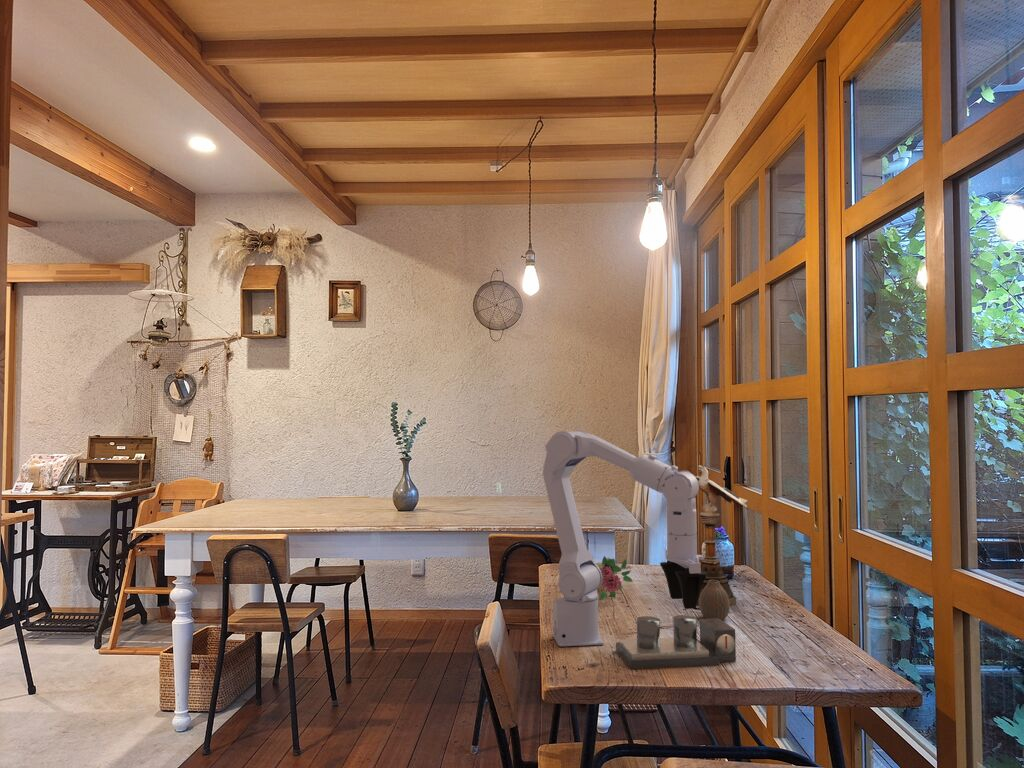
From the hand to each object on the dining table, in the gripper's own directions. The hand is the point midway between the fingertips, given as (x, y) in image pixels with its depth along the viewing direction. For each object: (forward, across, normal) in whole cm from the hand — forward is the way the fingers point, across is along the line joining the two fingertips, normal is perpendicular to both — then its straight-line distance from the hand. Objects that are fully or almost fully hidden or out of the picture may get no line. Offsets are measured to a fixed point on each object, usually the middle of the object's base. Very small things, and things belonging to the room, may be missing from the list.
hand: (683, 603), depth 141 cm
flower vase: (+11, +54, +2) cm, 55 cm away
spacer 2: (+8, 0, 0) cm, 8 cm away
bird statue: (+10, +41, -24) cm, 49 cm away
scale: (+10, 0, +2) cm, 10 cm away
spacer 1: (+8, 0, +7) cm, 11 cm away
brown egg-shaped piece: (+10, +25, -16) cm, 32 cm away
